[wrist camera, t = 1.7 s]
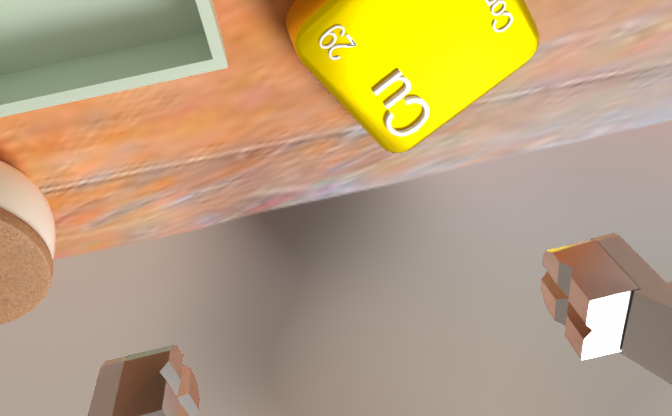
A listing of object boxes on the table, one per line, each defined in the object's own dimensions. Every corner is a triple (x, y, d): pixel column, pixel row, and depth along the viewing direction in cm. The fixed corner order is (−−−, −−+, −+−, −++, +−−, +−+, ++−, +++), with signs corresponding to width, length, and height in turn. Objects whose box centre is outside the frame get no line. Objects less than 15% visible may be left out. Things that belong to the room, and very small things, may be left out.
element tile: (522, 27, 44) (552, 51, 41) (381, 135, 48) (397, 166, 45) (440, -135, 35) (470, -120, 31) (272, 17, 39) (283, 45, 35)
